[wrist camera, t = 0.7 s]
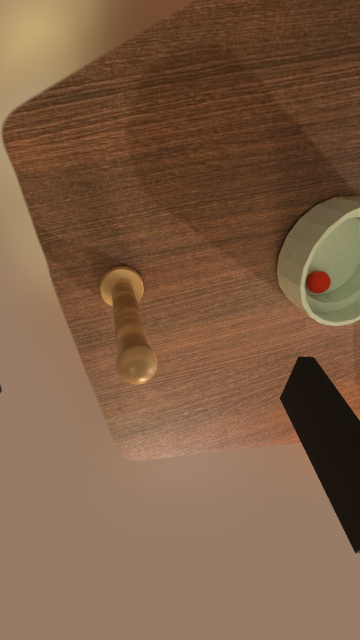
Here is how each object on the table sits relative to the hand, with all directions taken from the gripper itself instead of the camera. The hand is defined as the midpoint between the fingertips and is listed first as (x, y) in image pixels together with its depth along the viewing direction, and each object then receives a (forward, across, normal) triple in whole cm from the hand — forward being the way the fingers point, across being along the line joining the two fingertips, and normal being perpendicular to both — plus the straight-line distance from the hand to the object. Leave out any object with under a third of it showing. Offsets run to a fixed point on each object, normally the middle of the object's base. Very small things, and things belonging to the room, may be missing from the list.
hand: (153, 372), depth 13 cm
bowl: (+27, +24, -2) cm, 37 cm away
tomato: (+25, +23, -5) cm, 34 cm away
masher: (+23, -3, -8) cm, 25 cm away
